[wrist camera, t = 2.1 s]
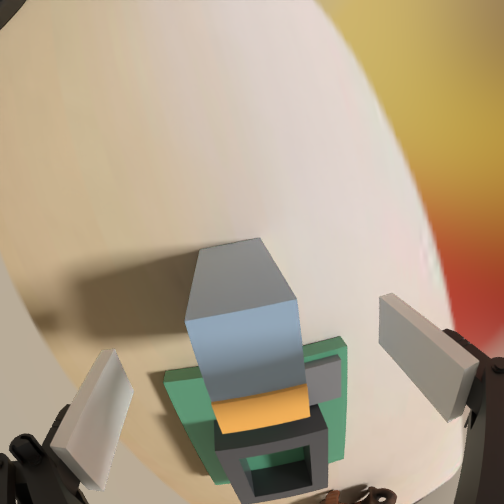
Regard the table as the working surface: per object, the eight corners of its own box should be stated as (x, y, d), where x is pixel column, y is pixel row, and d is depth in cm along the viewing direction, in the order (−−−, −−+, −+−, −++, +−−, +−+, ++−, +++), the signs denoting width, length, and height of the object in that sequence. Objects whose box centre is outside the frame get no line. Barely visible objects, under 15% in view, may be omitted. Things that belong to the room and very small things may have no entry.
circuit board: (165, 370, 22) (156, 414, 17) (340, 336, 23) (365, 372, 18) (215, 474, 26) (216, 510, 21) (339, 449, 27) (353, 482, 22)
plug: (199, 249, 20) (183, 323, 10) (259, 237, 20) (298, 301, 10) (218, 328, 21) (222, 433, 12) (273, 317, 22) (310, 416, 12)
